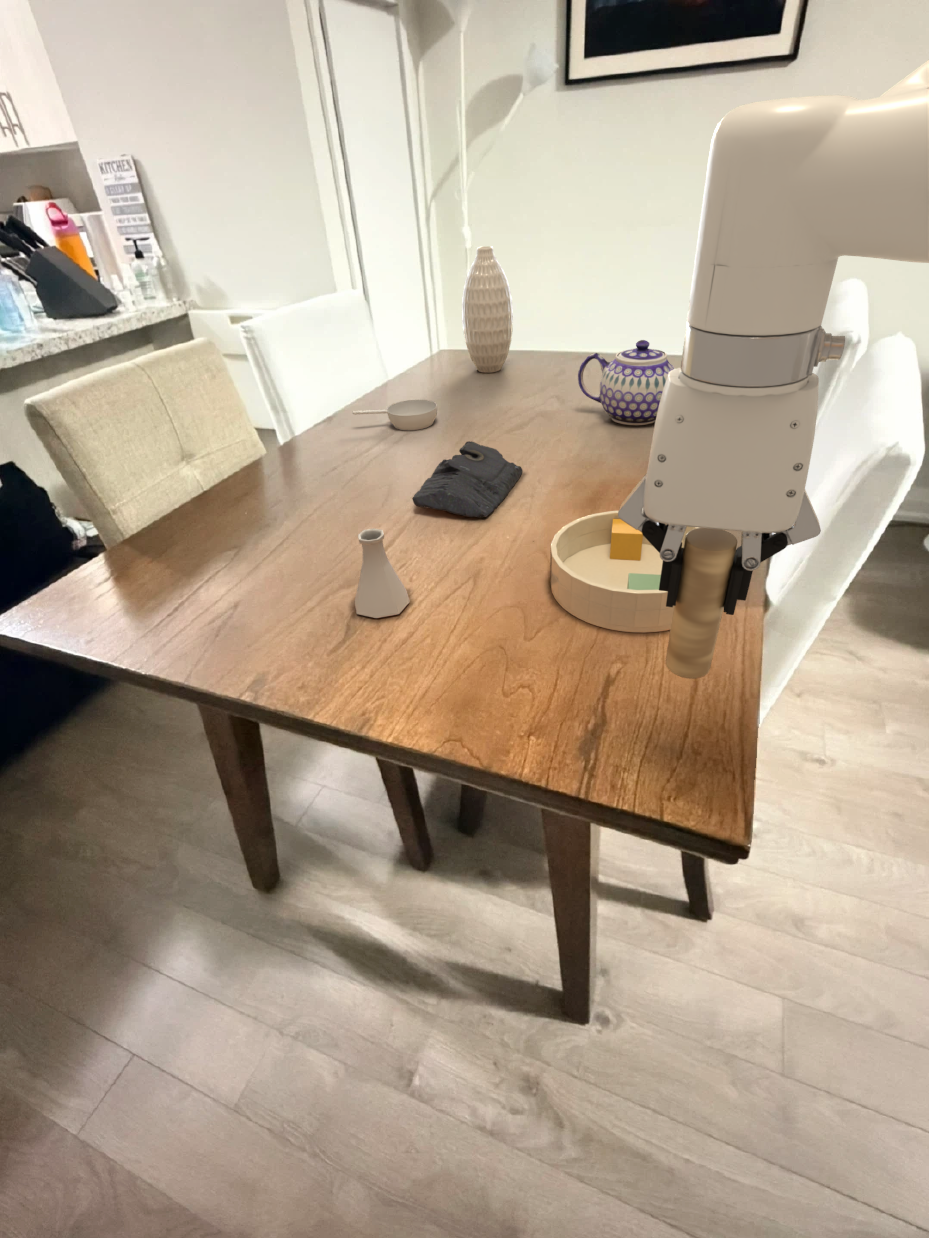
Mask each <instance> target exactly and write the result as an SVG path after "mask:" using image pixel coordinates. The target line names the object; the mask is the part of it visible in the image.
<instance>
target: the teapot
mask: <svg viewBox="0 0 929 1238" xmlns="http://www.w3.org/2000/svg"><path fill="white" fill-rule="evenodd" d="M649 347H650V342H649V341H648V340H645V339H640V340H638V341H637V342H636V343H635V348H630V349H625V350H621V351H619V352H617V353H616V354H615V358H614V359H612V360H611V361H607V360H606V358H604V356H602V355H601V354H600V353H597V352H593V353H591V354H589V355H588V356H586V358H584V360H583V361H582V363H581V364H580V366H579V369H578V372H577V383H578V386H579V388H580V391H581V392H582V393H583V395H585V396H586V397H587V398H588V399H591V400H593V401H595V402H597V403H600V404H601V406H602V408H603V410H604V411H605V412H606V413H607V414H608V415H609V416H610V418H611V421H613V422H615V423H616V424H617V423H618V424H621V425H627V426H645V425H650V424H653V423H654V424H655V421H656V416H657V412H658V407H659V403H660V400H661V396H662V392H663V389H664V386H665V382H666V379H667V377H668V374H669V372H670V371H671V370H673V369H676V368H675V367H674V365H673V364H672V363H671V362H670V361H669V360H668V358H667V357H668V354H667V353H666V352H665V351H663V350H659V349H655V348H649ZM592 360H597V361H598V363H599V366H600V370H601V377H600V380H599V381H600V382H599V394H595V393H593V392H592V391H590V390H589V388H587V387H586V385H585V383H584V371H585V369H586V367H587V366H588V363H589V362H591V361H592Z"/></svg>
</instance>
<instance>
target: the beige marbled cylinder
mask: <svg viewBox="0 0 929 1238" xmlns="http://www.w3.org/2000/svg"><path fill="white" fill-rule="evenodd" d="M737 546H738V539H737V537H736V536H735V535H734V534H733V533H731V532H730V531H728V530H720V529H709V528H697V529H693V530H691V531H689V532H688V533H687V534H686V537H685V543H684V549H683V555H682V558H683V562H682V570H681V576H680V582H679V588H678V594H677V600H676V606H674V611H673V617H672V623H671V630H669V637H668V641H667V642H668V643H667V647H666V648H667V649H666V654H665V666H666V668H667V670H668V671H670V672H671V673H672V674H674V675H676V676H678V677H680V678H684V679H691V680H692V679H694V680H695V679H700V678H703V677H705V676H706V675H708V674H709V672H710V670H711V667H712V662H713V659H714V653H715V649H716V644H717V640H718V635H719V630H720V625H721V621H722V617H723V613H724V602H725V597H726V593H727V588H728V583H729V579H730V574H731V569H732V565H733V561H734V557H735V552H736V549H737V548H738V547H737Z"/></svg>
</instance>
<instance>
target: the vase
mask: <svg viewBox="0 0 929 1238" xmlns="http://www.w3.org/2000/svg"><path fill="white" fill-rule="evenodd" d="M513 309H514V308H513V298H512V292H511V289H510V284H509V281H508V277H507V275H506V274H505V271H504V269H503V268H502V265H501V263H500V262H499V261H498V259H497V257H496V255H495V252H494V247H493V246H489V245H488V246H487V245H485V246H479V247H477V248H476V254H475V257H474V260H473V262H472V264H471V265H470V268H469V270H468V273H467V275H466V278H465V281H464V285H463V291H462V299H461V319H462V320H461V321H462V322H461V323H462V330H463V331H462V332H463V337H464V340H465V341H464V342H465V346H466V349H467V351H468V354H469V356H470V359H471V361H472V363H473V364H474V366H475V368H476V369H477V371H478V372H479V373H482V374H483V373H486V374H487V373H488V374H489V373H490V374H491V373H497V372H500V371H501V370H502V368H503V367H504V364H505V362H506V360H507V358H508V354H509V353H510V352H509V351H510V348H511V343H512V339H513V327H514V310H513Z"/></svg>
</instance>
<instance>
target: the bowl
mask: <svg viewBox="0 0 929 1238" xmlns="http://www.w3.org/2000/svg"><path fill="white" fill-rule="evenodd" d="M618 511H619V510H609V511H604V512H603V511H602V512H597V513H592V514H589V515H586V516H583V517H579V518H576V519H575V520H573V521H570V522H569V523H567V524H565V525H564V526H563V527H561V529H559V530H558V531H557V532H556V533H555V534H554V536H553V539H552V541H551V543H550V557H549V561H550V562H549V565H550V566H549V567H550V569H549V576H550V577H549V579H550V589H551V593H552V595H553V598H554V599H555V601H556V602H557V603H558V604H559V605H560V607H562V608H563V609H564V610H565V611H566V612H567V613H569V614H570V615H572V616H573V617H575V618H577V619H579V620H581V621H583V622H585V623H588V624H590V625H593V626H595V627H599V628H602V629H607V630H611V631H618V632H624V633H625V632H626V633H643V634H644V633H659V632H665V631H670V630H671V623H672V617H673V611H674V606H673V607H666V601H667V593H668V591H660V590H632V589H627V585H628V575H629V573H637V574H655V575H661V571H662V564H663V560H662V559H661V558H660V553H659V552H658V551H657V550H656V549H655V548H654V546H653V545H652V544H651V543H650V542H649V541H648V540H647V539H646V538H645V537H644V536H643V541H642V550H641V559H640V561H638V560H620V559H610V547H611V534H612V522H613V519H620V518H619V517H618ZM665 525H666V524H665ZM697 528H699V527H688V526H687V527H686V530H685V533H684V536H683V539H682V548H684V543H685V537H686V534H687V533H688V532H689V531H691V530H693V529H697Z"/></svg>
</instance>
